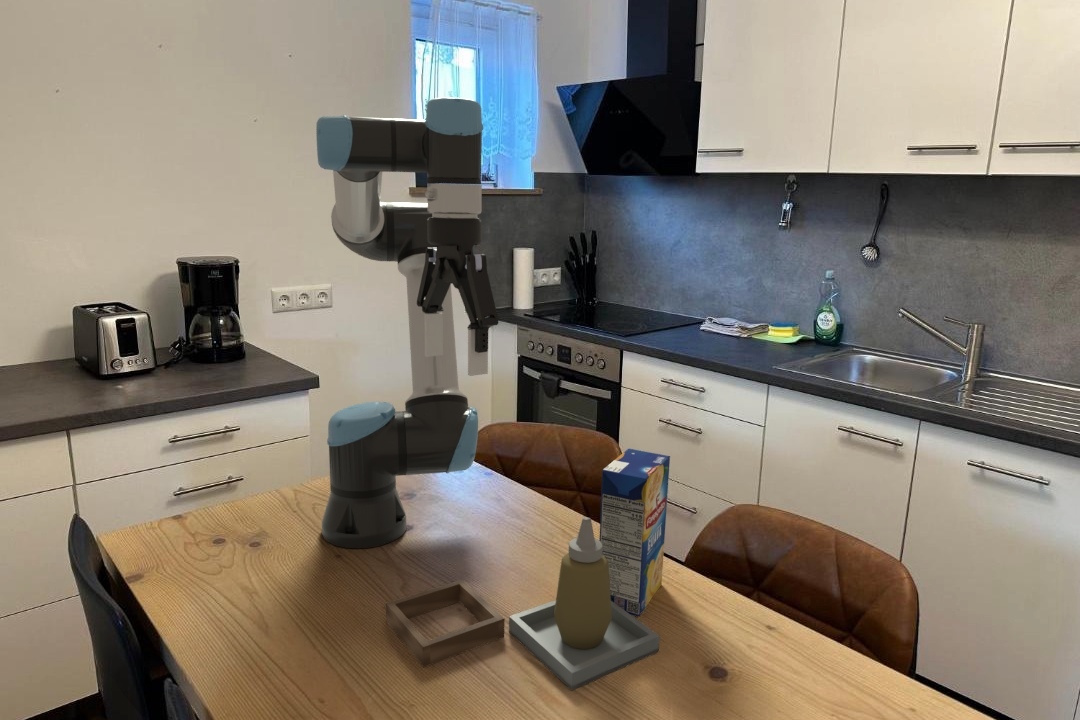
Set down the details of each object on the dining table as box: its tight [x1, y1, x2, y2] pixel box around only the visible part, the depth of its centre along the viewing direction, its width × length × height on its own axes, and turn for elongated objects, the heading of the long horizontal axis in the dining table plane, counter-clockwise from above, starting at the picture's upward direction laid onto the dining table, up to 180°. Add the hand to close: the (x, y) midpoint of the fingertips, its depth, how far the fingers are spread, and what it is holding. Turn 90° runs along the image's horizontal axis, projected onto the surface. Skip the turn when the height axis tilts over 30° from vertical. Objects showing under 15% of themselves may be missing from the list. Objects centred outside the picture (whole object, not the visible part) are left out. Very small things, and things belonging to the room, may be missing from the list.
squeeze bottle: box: [554, 516, 612, 649], centre depth 101 cm, size 8×8×18 cm
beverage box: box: [598, 448, 671, 618], centre depth 113 cm, size 7×11×22 cm, turn 153°
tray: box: [508, 599, 661, 691], centre depth 103 cm, size 15×15×2 cm
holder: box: [385, 579, 506, 668], centre depth 105 cm, size 12×12×3 cm
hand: (454, 364), depth 107 cm, fingers open, 13 cm apart
